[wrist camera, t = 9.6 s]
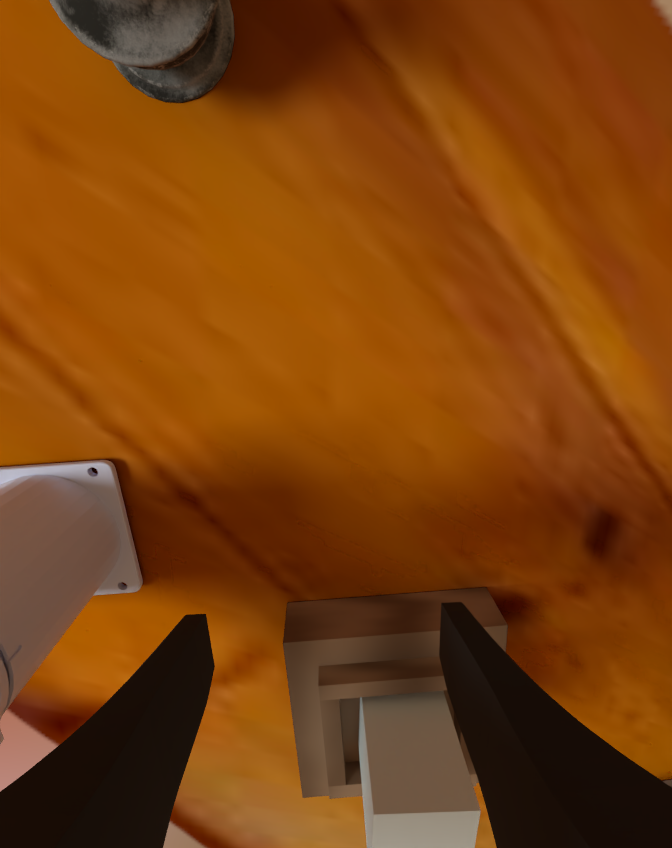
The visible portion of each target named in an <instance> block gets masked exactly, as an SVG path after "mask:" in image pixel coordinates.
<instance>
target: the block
mask: <svg viewBox="0 0 672 848" xmlns="http://www.w3.org/2000/svg"><path fill="white" fill-rule="evenodd" d="M358 746H359V758H360V770H361V782H362V794H363V806H364V817H365V829H366V841H367V848H474V847H475V841H476V835H477V829H478V823H479V817H480V811H481V810H480V807H479V804H478V801H477V797H476V794H475V791H474V788H473V785H472V781H471V778H470V775H469V772H468V769H467V765H466V762H465V759H464V756H463V753H462V749H461V746H460V743H459V740H458V736H457V733H456V730H455V727H454V724H453V720H452V717H451V714H450V711H449V708H448V704H447V701H446V698H445V695H444V691H433V692H421V693H408V694H396V695H384V696H372V697H360V709H359V736H358Z"/></svg>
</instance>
